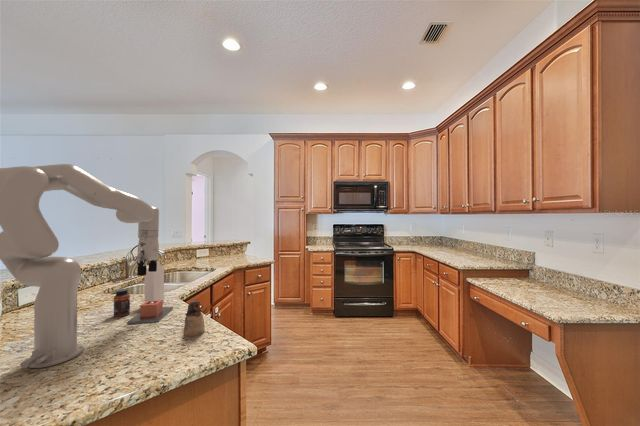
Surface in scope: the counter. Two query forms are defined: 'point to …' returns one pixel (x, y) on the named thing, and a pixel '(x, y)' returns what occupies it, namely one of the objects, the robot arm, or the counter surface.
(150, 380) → the counter surface
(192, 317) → the figurine
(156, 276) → the milk
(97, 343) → the counter surface
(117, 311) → the supplement bottle
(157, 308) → the red hollow square block
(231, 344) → the counter surface
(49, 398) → the counter surface
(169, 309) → the plate
